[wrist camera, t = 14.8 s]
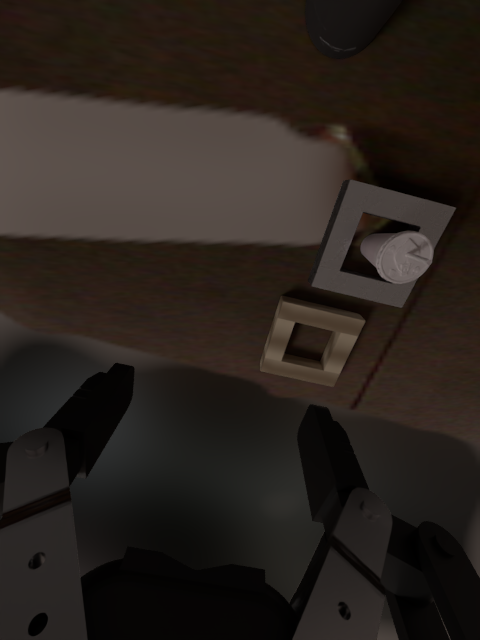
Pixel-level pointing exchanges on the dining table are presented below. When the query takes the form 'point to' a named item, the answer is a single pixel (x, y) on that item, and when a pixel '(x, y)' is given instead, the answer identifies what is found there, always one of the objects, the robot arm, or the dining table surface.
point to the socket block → (315, 315)
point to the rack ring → (342, 229)
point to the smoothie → (399, 255)
